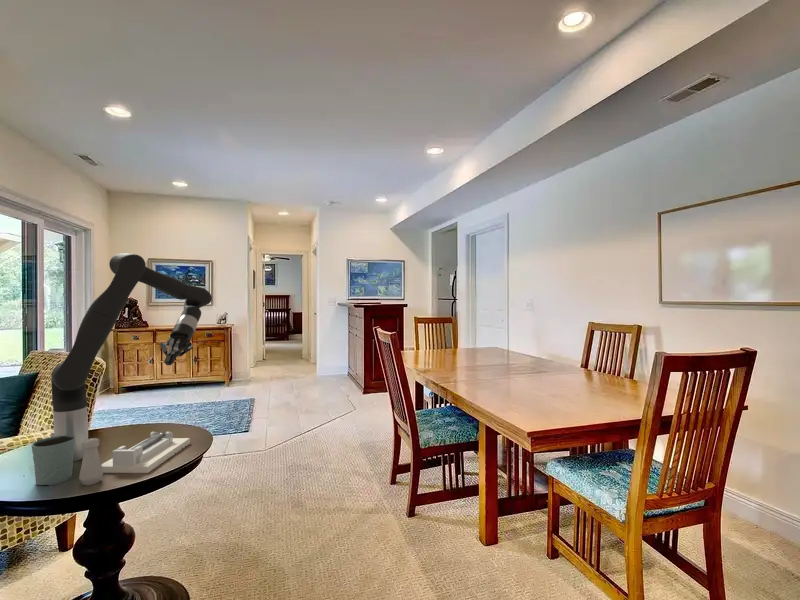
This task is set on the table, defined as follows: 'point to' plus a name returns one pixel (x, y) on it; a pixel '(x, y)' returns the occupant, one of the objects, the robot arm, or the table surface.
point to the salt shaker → (90, 463)
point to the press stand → (144, 455)
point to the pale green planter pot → (53, 459)
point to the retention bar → (150, 440)
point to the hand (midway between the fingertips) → (167, 364)
